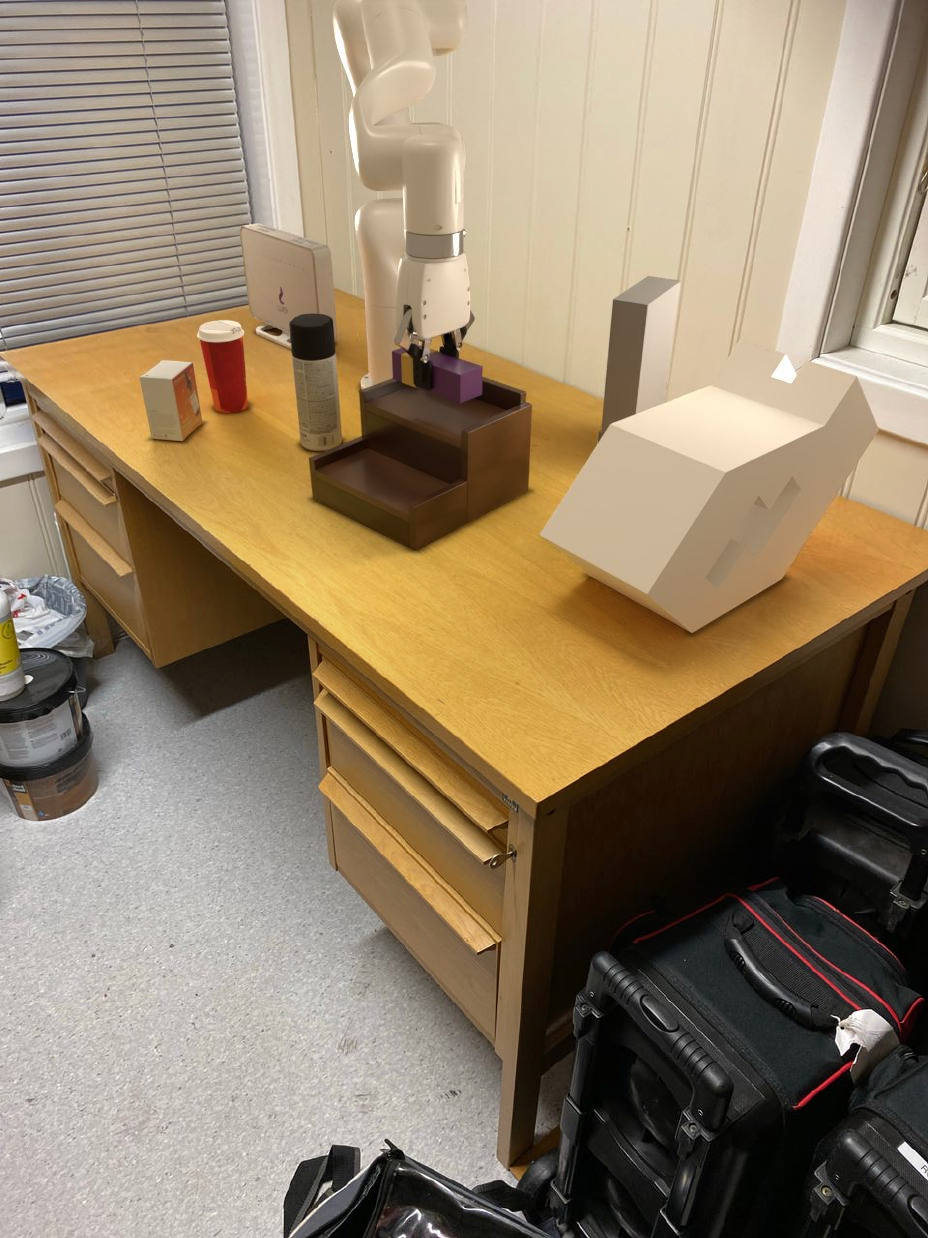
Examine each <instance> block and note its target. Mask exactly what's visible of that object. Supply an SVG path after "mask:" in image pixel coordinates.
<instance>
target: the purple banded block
mask: <svg viewBox="0 0 928 1238" xmlns="http://www.w3.org/2000/svg"><path fill="white" fill-rule="evenodd" d="M419 347H420V348H421V347H422V345H421V346H420V345H419ZM429 360H430V361H432V363H433V366H432V368H433V388H432V389H431V390H426V389H423V388H420V387H417V386H415V385H414V383H413V358H410V357H409V355H408V353H406V352H405V351H404V349H402V348H400V349H397V350H394V351H392V371H393V379H395V380H397V381H400V382H402V383H404V384H407V385H410V386H412V387H415V388H419V389H422V390H424V391H427V392H430V393H433V394H435V395H438V396H441V397H443V398H446V399H449V400H452V401H454V402H457V403H460V404H461V403H463V402H466V401H468V400H470V399H473V398H475V397H478V396H480V395H482V377H483V369H484V367H483V365H479V364H477V363H475V362H471V361H468V360H465V359H462V358H460V357H459V358H456V357H453V356H450V355H447V354H444V353H441V352H439V350H436V349H434V348H430V355H429Z"/></svg>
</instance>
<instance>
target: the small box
mask: <svg viewBox="0 0 928 1238" xmlns="http://www.w3.org/2000/svg"><path fill="white" fill-rule="evenodd" d="M139 382H140V387H141V391H142V392H141V393H142V397H143V403H144V407H145V411H146V412H145V413H146V417H147V423H148V428H149V431H150V437H151V439H152V440H163V441H177V442H184V441H185V439H187V438H188V437H189V436H190V435H191V434H192V433H193V432H194V431H195V430H196V429H197V428H199V427H200V426H202V424H203V417H202V416H203V415H202V411H201V410H202V409H201V404H200V398H199V392H198V386H197V380H196V373H195V366H194V362H192V361H181V360H180V361H179V360H167V359H162V360H160V361H159V362H158V363H157V364H155V365H154V366H153V367H152V368H151V369H149V370H147V372H145V373H143V374H142V375H140V376H139Z"/></svg>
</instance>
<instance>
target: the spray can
mask: <svg viewBox="0 0 928 1238" xmlns="http://www.w3.org/2000/svg"><path fill="white" fill-rule="evenodd" d="M289 328H290V339H291V342H290V343H291V349H290V350H291V359H292V360H291V361H292V369H293V370H292V371H293V378H294V379H293V380H294V390H295V399H296V409H297V419H298V427H299V428H298V430H299V439H300V443H301V446H302V447H303V449H305V450H307V451H311V452H313V451H314V452H324V451H327V450H329V449H332V448H334V447H336V446H339V445H341V444H342V441H343V432H342V418H341V404H340V392H339V379H338V377H339V375H338V366H337V365H338V364H337V363H338V362H337V351H336V341H335V339H334V327H333V319H332V318H331V317H329V316H327V315H324V314H314V313H311V314H301V315H299V316H297V317H295V318H293V319H292V321H290V323H289Z"/></svg>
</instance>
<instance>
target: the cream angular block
mask: <svg viewBox="0 0 928 1238" xmlns="http://www.w3.org/2000/svg"><path fill="white" fill-rule="evenodd" d="M879 430H880V428H879V426H878V424H877V422H876V419H875V416H874V414H873V412H872V410H871V407H870V405H869V402H868V400H867V397H866V395H865V393H864V390H863V388H862V385H861V383H860V380H859V378H858V376H857V375H855V374H851V373H848V372H845V371H842V370H838V369H836V368H832V367H829V366H826V365H822V364H819V363H816V362H813V361H810V360H806V359H805V361H804V363H803V364H802V366H801V367H800V369H799V370H798V371H797V373H796V371H795V369H794V367H793V365H792V363H791V361H790V359H789V357H788V355H787V354H786V353H783V352H781V351H778V350H774V349H771V348H769V347H764V346H761V345H758V344H755V343H751V342H748V341H746V340H742V339H739V340H738V341H737V343H736V345H735V346H734V348H733V349H732V351H731V352H730V354H729V356H728V357H727V359H726V360H725V362H724V363H723V365H722V366H721V368H720V370H719V371H718V373H717V374H716V375H715V377H714V379H713V381H712V382H711V383H710V384H709V385H707V386H705V387H702V388H700V389H696V390H695V391H691V392H689V393H687V394H684V395H682V396H679V397H677V398H674V399H671V400H668V401H665V403H663V404H661V405H658V406H656V407H653V408H650V409H648V410H645V411H643V412H640V413H638V414H635V415H632V416H630V417H627V418H625V419H622V420H620V421H617V422H614V423H612V424H610V425H609V427H608V429H607V430H606V432H605V433H604V435H603V436H602V438H601V439H600V441H599V443H598V444H596V446H595V447H594V449H593V450H592V452H591V453H590V455H589V457H588V459H587V460H586V461H585V463H584V464H583V466H582V467H581V469H580V470H579V472H578V474H577V475H576V477H575V479H574V480H573V481H572V482H571V485H570V486H569V487H568V489H567V491H566V493H565V494H564V495H563V497H562V499H561V501H560V502H559V504H558V505H557V506H556V508H555V509H554V511H553V513H552V514H551V515H550V517H549V519H548V521H547V522H546V523H545V525H544V527H543V528H542V530H541V531H540V533H539V536H540V537H541V538H542V539H544V540H545V541H546V542H547V543H548V544H550V545H551V546H552V547H553V548H555V549H556V550H557V551H558V552H559V553H561V554H562V555H563V556H565V558H567V559H568V560H569V561H571V563H573V564H574V565H575V566H577V567H578V568H579V569H581V570H582V571H583V572H584V573H585V574H586V575H587V576H589V577H591V578H592V579H594V580H596V581H598V582H599V583H601V584H603V585H605V586H607V587H608V588H611V589H612V590H614V591H616V592H618V593H619V594H621V595H623V596H625V597H627V598H628V599H630V600H631V601H633V602H635V603H637V604H639V605H640V606H643V607H644V608H645V609H648V610H650V611H652V612H653V613H654V614H657V615H658V616H660V617H662V618H663V619H666V621H667V620H668V621H669V622H671V623H673V624H675V625H676V626H679V627H680V628H682V629H684V630H685V631H687V632H689V633H691V634H693V633H695V632H696V631H698V630H699V629H702V628H703V627H705V626H706V625H709V624H710V623H712V622H713V621H715V620H716V619H718V618H720V617H722V616H723V615H725V614H727V613H728V612H730V611H731V610H733V609H734V608H736V607H738V606H740V605H741V604H743V603H744V602H746V601H749V599H751V598H753V597H754V596H756V595H758V594H759V593H761V592H763V591H764V590H766V589H767V588H770V587H771V586H773V585H774V584H776V583H778V582H779V581H781V580H782V579H784V577H785V575H786V573H787V572H788V571H789V570H790V567H791V566H792V565H793V563H794V561H795V560H796V558H797V556H798V555H799V553H800V552H801V551H802V549H803V548H804V546H805V544H806V542H808V540H809V538H810V537H811V535H812V533H813V532H814V530H815V529H816V527H817V526H818V524H819V523H820V521H821V520H822V518H823V517H824V516H825V514H826V512H827V511H828V509H829V508H830V506H831V504H832V503H833V501H834V500H835V499H836V497H837V495H838V494H839V492H840V491H841V489H842V487H844V484H845V483H846V481H847V480H848V478H849V477H850V475H851V473H852V472H853V471H854V469H855V467H856V466H857V465H858V463H859V461H860V460H861V458H862V457H863V455H864V454H865V452H866V450H867V449H868V448H869V446H870V444H871V443H872V441H873V440H874V439H875V437H876V436H877V434H878V432H879Z"/></svg>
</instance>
